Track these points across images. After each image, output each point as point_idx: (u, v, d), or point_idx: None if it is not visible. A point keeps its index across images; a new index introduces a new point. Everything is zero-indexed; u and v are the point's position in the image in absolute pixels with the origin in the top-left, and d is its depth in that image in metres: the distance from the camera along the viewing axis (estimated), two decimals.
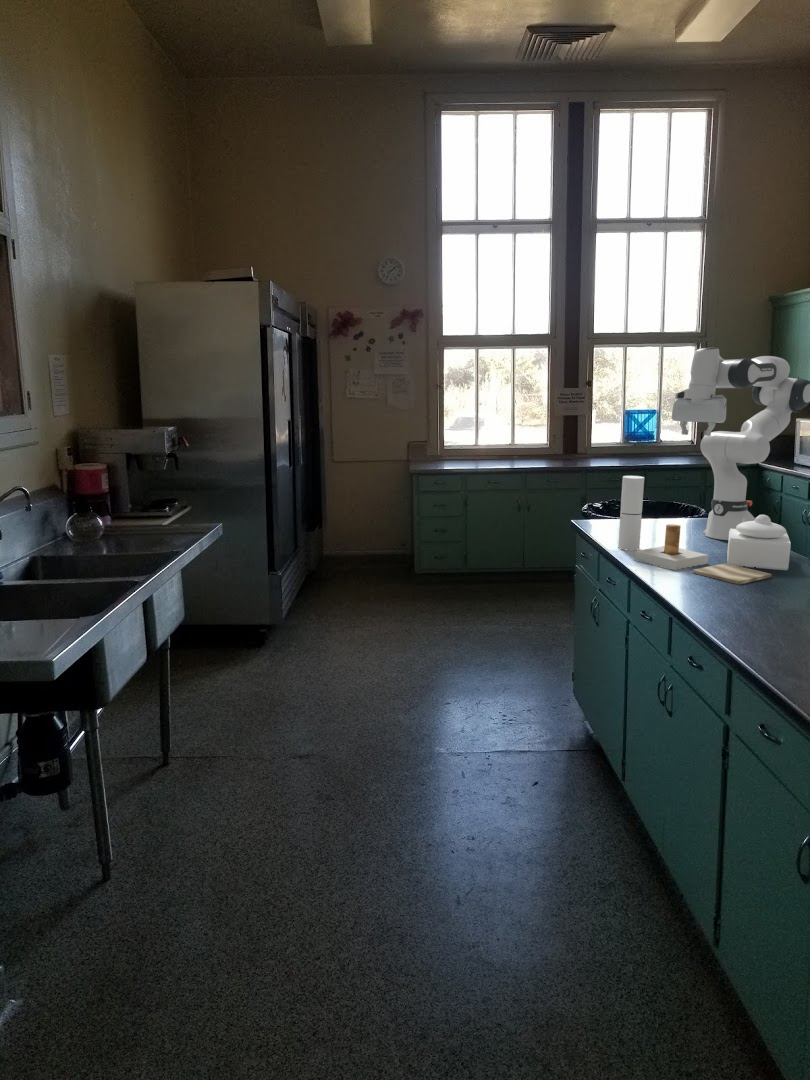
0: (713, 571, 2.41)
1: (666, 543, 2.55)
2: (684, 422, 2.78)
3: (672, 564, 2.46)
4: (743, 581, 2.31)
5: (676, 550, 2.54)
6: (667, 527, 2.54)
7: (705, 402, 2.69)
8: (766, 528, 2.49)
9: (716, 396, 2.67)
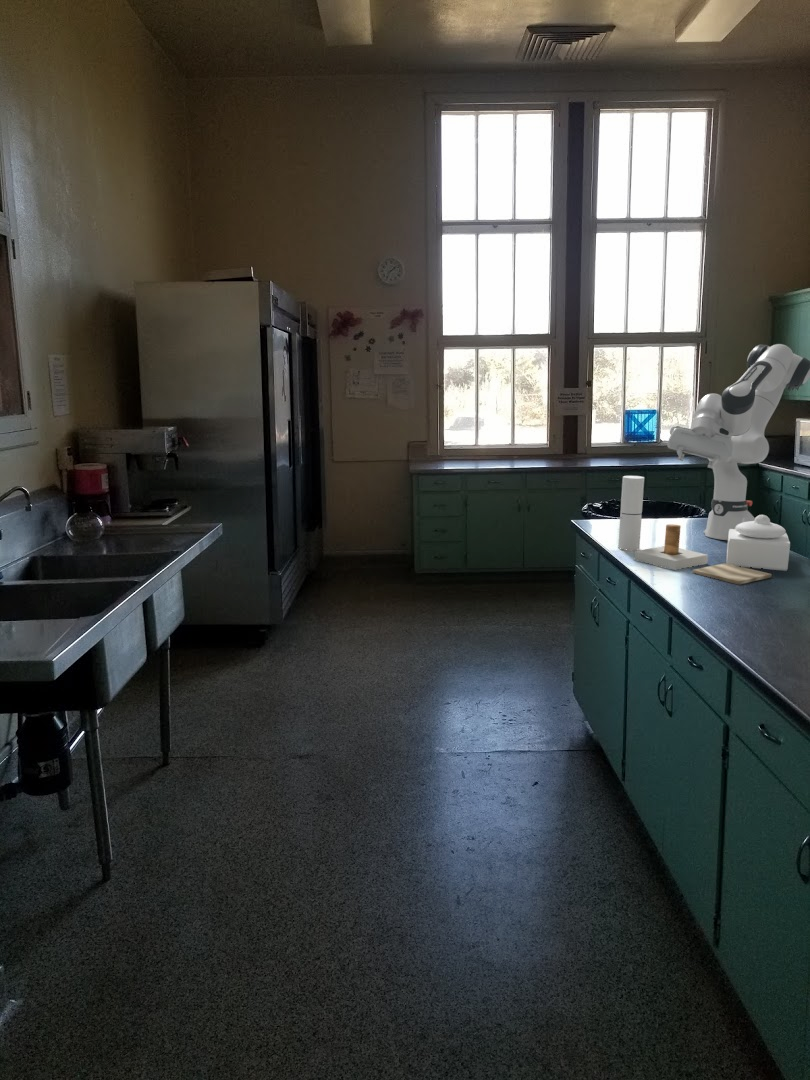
0: (713, 571, 2.41)
1: (666, 543, 2.55)
2: (713, 458, 2.57)
3: (672, 564, 2.46)
4: (743, 581, 2.31)
5: (676, 550, 2.54)
6: (667, 527, 2.54)
7: None
8: (765, 528, 2.49)
9: None
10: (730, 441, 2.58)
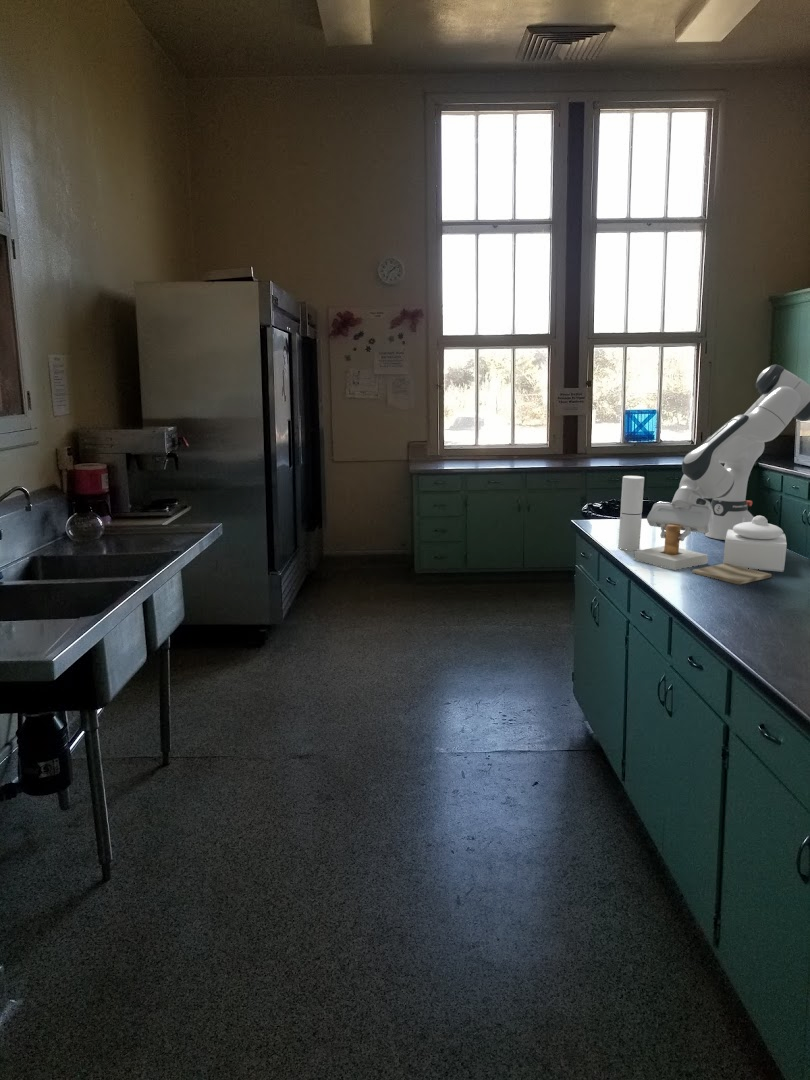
0: (713, 571, 2.41)
1: (666, 543, 2.54)
2: None
3: (672, 564, 2.46)
4: (743, 581, 2.31)
5: (676, 550, 2.54)
6: (667, 527, 2.54)
7: None
8: (762, 529, 2.48)
9: None
10: (707, 510, 2.52)
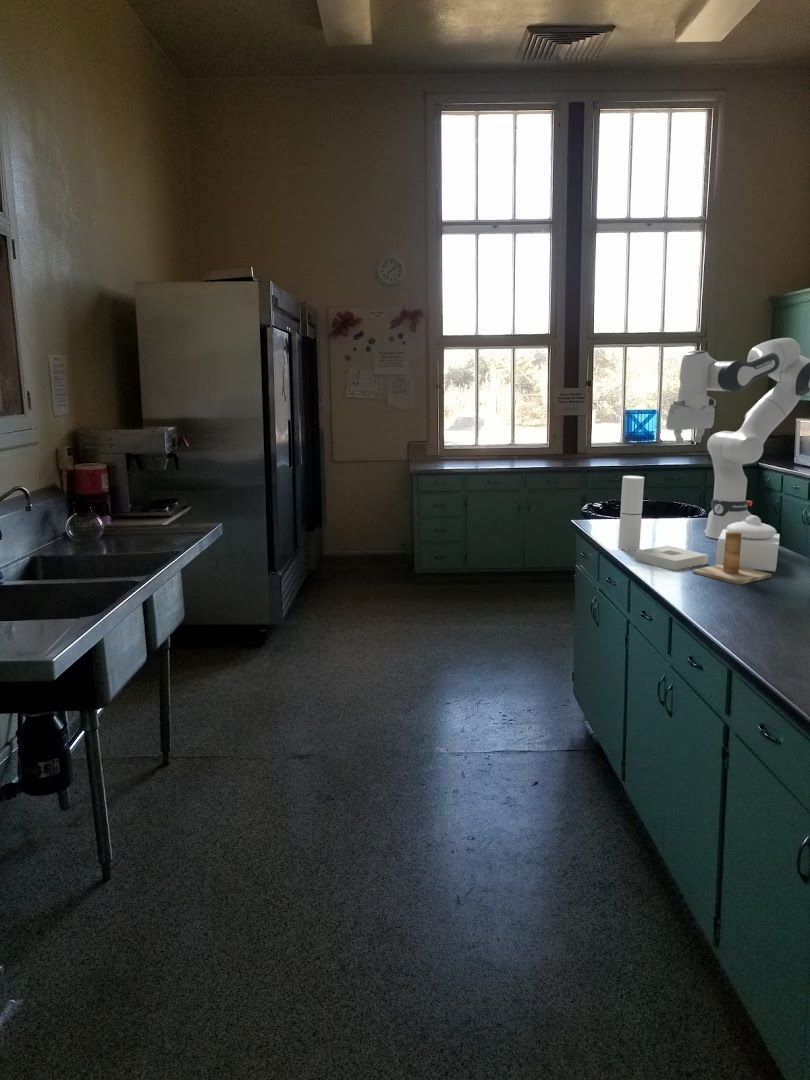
0: (713, 571, 2.41)
1: (729, 552, 2.37)
2: (698, 429, 2.67)
3: (672, 564, 2.46)
4: (743, 581, 2.31)
5: (739, 559, 2.38)
6: (729, 535, 2.36)
7: None
8: (755, 529, 2.48)
9: None
10: (713, 410, 2.65)
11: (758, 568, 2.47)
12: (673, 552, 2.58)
